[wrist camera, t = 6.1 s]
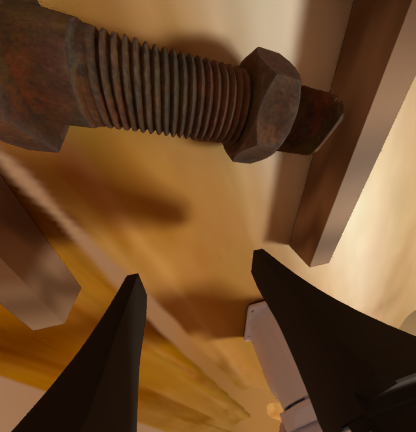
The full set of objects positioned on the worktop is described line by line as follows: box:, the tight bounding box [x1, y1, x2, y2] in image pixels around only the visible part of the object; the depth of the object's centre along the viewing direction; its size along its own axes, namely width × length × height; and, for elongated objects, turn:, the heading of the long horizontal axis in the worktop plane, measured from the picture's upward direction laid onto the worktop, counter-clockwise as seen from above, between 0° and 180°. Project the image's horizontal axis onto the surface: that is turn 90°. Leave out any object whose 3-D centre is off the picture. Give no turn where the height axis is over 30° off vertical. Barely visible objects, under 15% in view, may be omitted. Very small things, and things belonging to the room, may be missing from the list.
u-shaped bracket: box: [0, 0, 416, 331], centre depth 10 cm, size 20×24×3 cm
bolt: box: [0, 0, 344, 164], centre depth 8 cm, size 6×5×15 cm
